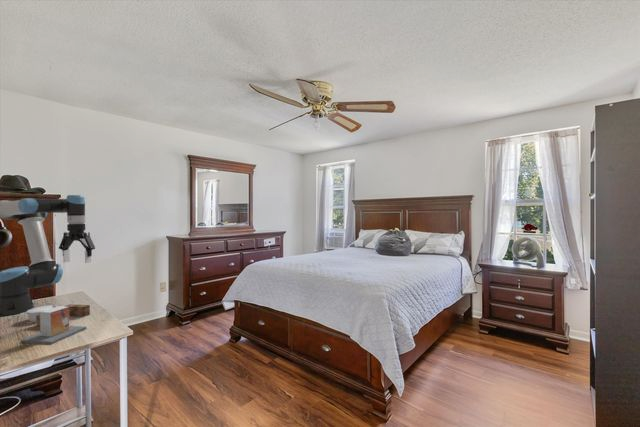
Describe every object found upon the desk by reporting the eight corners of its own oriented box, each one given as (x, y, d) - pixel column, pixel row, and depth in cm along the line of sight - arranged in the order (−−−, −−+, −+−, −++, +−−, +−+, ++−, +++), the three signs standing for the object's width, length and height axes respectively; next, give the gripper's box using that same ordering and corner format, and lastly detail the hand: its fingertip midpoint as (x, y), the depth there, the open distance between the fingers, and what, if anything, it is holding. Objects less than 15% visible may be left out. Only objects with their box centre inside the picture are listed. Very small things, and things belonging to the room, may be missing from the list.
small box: (50, 337, 123) (50, 312, 123) (40, 336, 124) (39, 312, 124) (70, 329, 131) (69, 306, 131) (59, 328, 132) (59, 305, 132)
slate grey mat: (21, 342, 121) (21, 339, 121) (58, 327, 136) (58, 325, 136) (52, 344, 119) (52, 341, 119) (86, 328, 134) (86, 326, 134)
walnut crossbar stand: (36, 325, 138) (36, 315, 138) (70, 313, 154) (69, 304, 154) (58, 326, 136) (58, 316, 136) (89, 314, 152) (89, 305, 152)
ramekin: (59, 317, 148) (59, 307, 148) (29, 325, 139) (29, 314, 139) (54, 313, 155) (53, 303, 155) (24, 320, 146) (24, 309, 146)
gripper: (49, 223, 156) (50, 263, 156) (89, 223, 152) (90, 264, 152) (63, 223, 163) (64, 260, 163) (102, 223, 159) (103, 261, 160)
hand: (77, 262), depth 158 cm, fingers open, 13 cm apart
